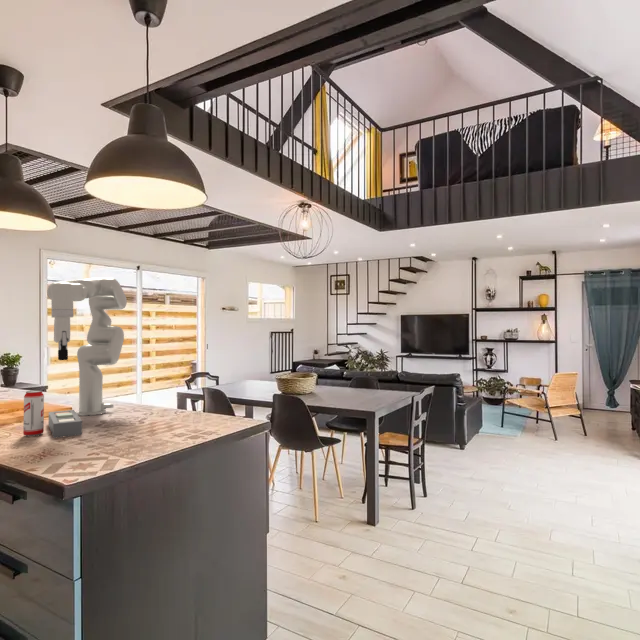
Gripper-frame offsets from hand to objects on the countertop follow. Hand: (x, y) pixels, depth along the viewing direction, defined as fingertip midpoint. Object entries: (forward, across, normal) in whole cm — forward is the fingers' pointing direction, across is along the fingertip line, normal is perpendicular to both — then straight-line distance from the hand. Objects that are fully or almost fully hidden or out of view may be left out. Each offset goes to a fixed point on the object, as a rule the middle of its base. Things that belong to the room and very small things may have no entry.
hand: (63, 359), depth 179 cm
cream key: (+24, +15, -1) cm, 28 cm away
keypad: (+26, +7, 0) cm, 27 cm away
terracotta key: (+24, -1, 0) cm, 24 cm away
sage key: (+23, +7, 0) cm, 24 cm away
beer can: (+26, +11, -11) cm, 30 cm away
